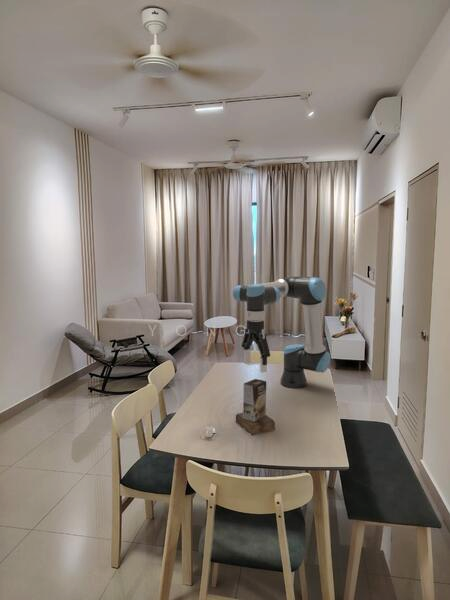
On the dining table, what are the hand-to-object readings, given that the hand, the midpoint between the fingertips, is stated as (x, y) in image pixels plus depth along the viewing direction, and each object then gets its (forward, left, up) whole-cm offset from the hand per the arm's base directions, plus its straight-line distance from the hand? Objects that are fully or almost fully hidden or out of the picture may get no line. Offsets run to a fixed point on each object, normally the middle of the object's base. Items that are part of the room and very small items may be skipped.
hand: (255, 367), depth 168 cm
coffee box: (0, 0, -23) cm, 23 cm away
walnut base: (0, 0, -27) cm, 27 cm away
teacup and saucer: (+19, +1, -27) cm, 33 cm away
